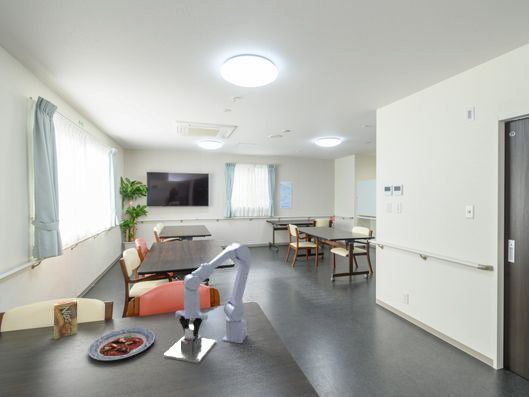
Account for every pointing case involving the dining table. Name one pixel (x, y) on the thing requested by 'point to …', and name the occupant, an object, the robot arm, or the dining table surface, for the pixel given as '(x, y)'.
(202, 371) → the dining table surface
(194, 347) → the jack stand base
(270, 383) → the dining table surface
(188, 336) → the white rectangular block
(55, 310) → the candy box
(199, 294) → the skincare box
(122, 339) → the ceramic plate
